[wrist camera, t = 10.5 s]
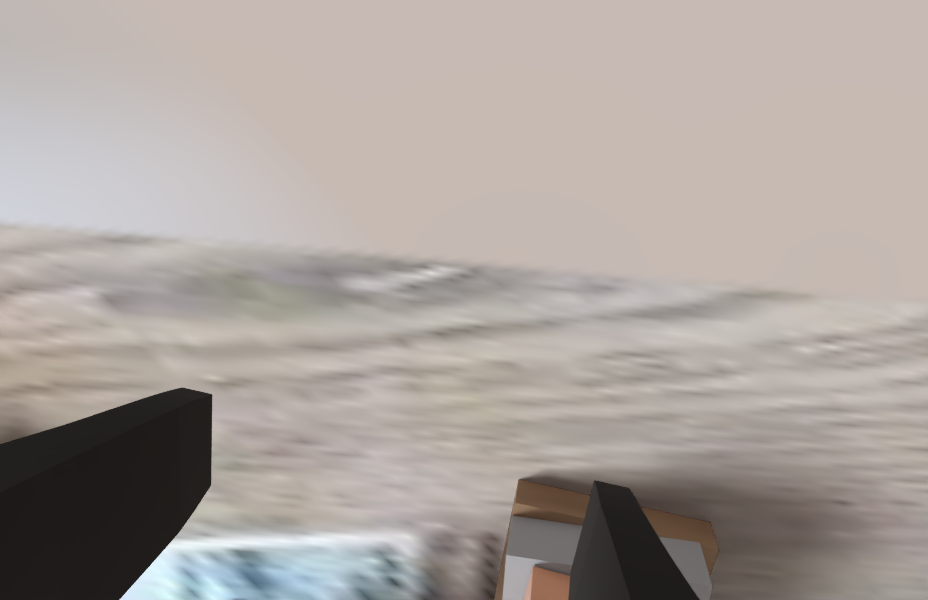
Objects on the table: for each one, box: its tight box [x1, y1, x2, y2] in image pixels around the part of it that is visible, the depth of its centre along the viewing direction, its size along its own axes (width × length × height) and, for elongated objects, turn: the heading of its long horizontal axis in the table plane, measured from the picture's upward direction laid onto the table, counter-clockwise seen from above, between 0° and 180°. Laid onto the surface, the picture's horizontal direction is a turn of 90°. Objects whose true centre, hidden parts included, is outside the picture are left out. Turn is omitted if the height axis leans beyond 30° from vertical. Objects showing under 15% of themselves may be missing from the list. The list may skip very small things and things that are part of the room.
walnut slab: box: [494, 480, 719, 600], centre depth 23 cm, size 7×7×2 cm
